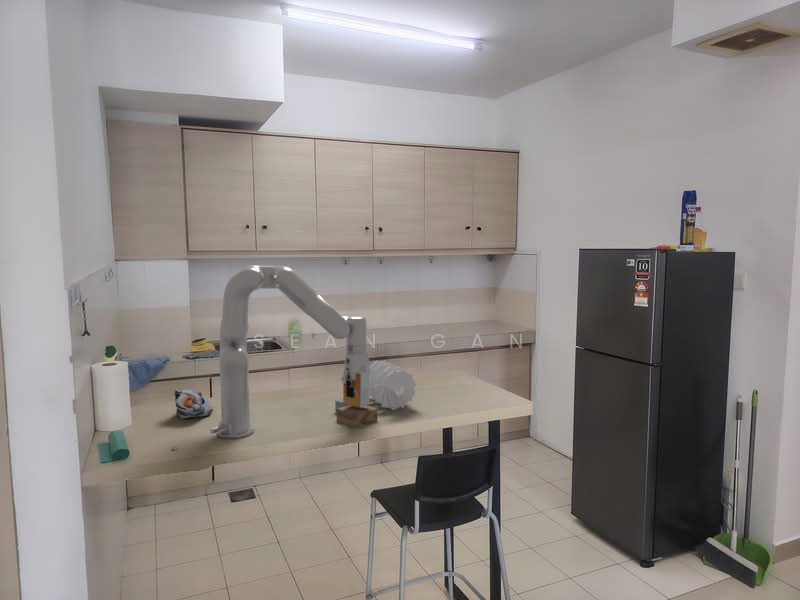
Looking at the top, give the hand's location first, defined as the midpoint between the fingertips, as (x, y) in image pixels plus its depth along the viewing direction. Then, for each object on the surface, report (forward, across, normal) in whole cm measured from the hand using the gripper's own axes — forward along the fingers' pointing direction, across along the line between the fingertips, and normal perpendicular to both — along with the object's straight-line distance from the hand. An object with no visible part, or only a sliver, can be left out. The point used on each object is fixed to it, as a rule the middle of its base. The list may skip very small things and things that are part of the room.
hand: (356, 394), depth 207 cm
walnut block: (+10, 0, -1) cm, 10 cm away
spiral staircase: (+10, +23, +3) cm, 26 cm away
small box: (+4, 0, 0) cm, 4 cm away
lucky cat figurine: (+11, -34, +54) cm, 65 cm away
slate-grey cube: (+10, +4, +10) cm, 15 cm away
